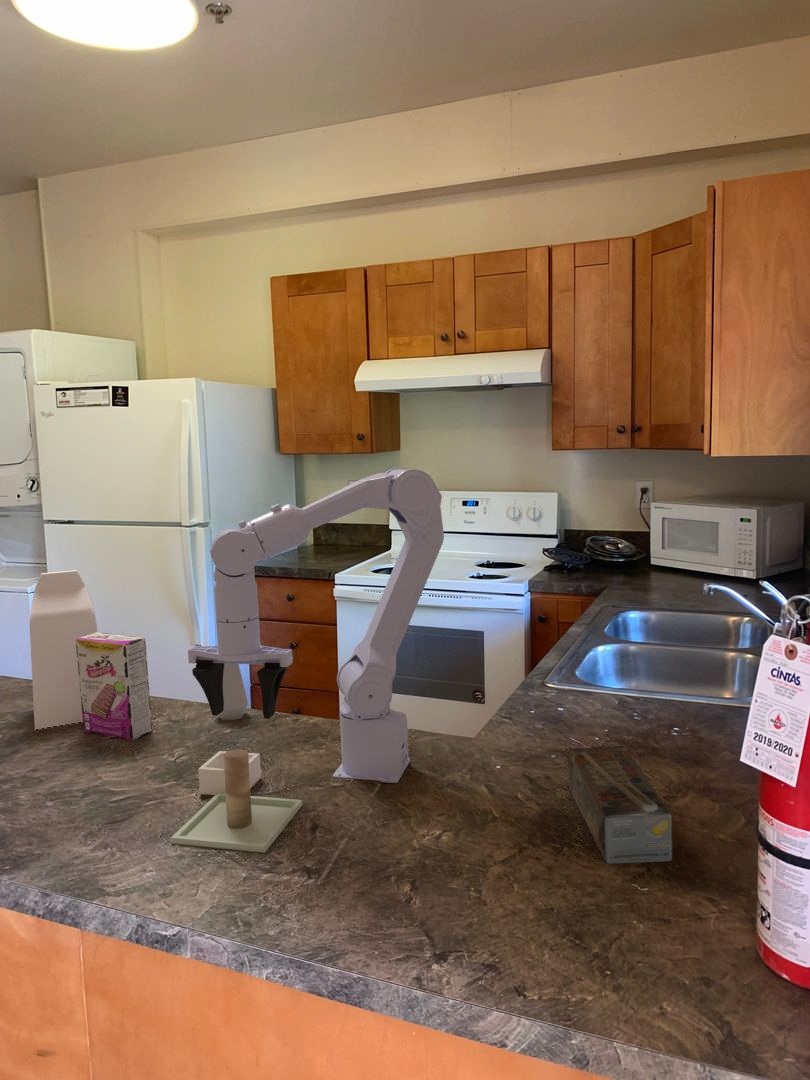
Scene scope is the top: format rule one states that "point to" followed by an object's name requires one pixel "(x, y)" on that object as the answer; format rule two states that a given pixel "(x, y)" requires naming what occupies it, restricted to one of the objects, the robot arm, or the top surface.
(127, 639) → the candy bar box
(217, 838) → the tray
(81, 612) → the milk
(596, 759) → the beverage carton
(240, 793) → the dowel
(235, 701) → the salt shaker
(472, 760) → the top surface
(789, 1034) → the top surface
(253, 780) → the open box
